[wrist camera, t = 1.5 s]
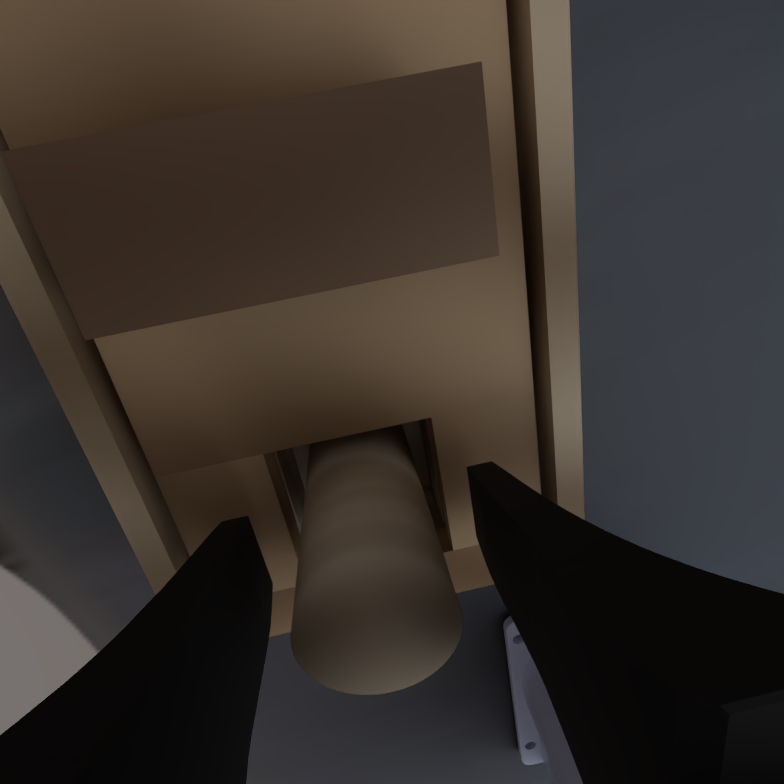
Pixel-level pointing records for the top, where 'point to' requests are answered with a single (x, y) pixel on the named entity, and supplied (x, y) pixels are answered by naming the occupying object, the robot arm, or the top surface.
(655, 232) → the top surface
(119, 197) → the lid
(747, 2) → the top surface
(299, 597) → the pin
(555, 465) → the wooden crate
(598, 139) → the top surface
